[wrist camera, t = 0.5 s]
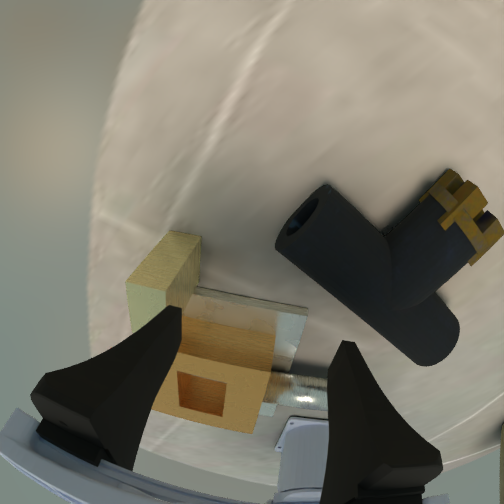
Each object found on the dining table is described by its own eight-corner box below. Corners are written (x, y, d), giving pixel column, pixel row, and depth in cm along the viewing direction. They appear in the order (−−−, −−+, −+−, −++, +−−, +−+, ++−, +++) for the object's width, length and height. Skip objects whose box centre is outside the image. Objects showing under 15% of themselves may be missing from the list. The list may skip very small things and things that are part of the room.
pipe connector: (423, 111, 12) (532, 286, 15) (394, 106, 16) (501, 250, 19) (270, 266, 17) (416, 379, 20) (278, 226, 22) (404, 333, 25)
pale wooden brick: (199, 281, 24) (168, 342, 18) (169, 275, 24) (132, 332, 18) (201, 236, 22) (165, 291, 16) (169, 230, 23) (125, 281, 16)
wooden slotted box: (325, 416, 31) (324, 453, 26) (152, 381, 32) (136, 415, 28) (377, 319, 24) (388, 364, 19) (139, 273, 25) (111, 309, 20)
